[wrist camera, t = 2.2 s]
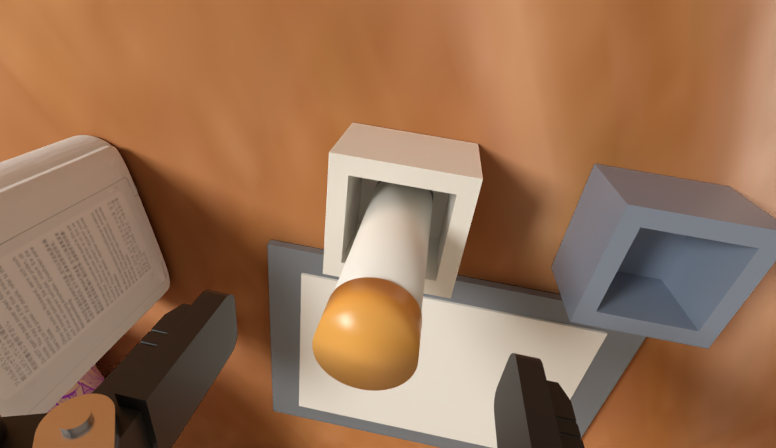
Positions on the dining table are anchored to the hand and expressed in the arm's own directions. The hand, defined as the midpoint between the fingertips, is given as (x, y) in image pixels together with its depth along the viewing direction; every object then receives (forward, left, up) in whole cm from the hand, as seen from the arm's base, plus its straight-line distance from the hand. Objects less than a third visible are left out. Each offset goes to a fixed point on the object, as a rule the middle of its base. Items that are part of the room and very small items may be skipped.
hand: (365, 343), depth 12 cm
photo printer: (+5, -16, -10) cm, 19 cm away
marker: (0, 0, -9) cm, 9 cm away
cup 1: (0, 0, -10) cm, 10 cm away
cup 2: (0, +11, -10) cm, 15 cm away
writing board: (+12, +3, -10) cm, 16 cm away
